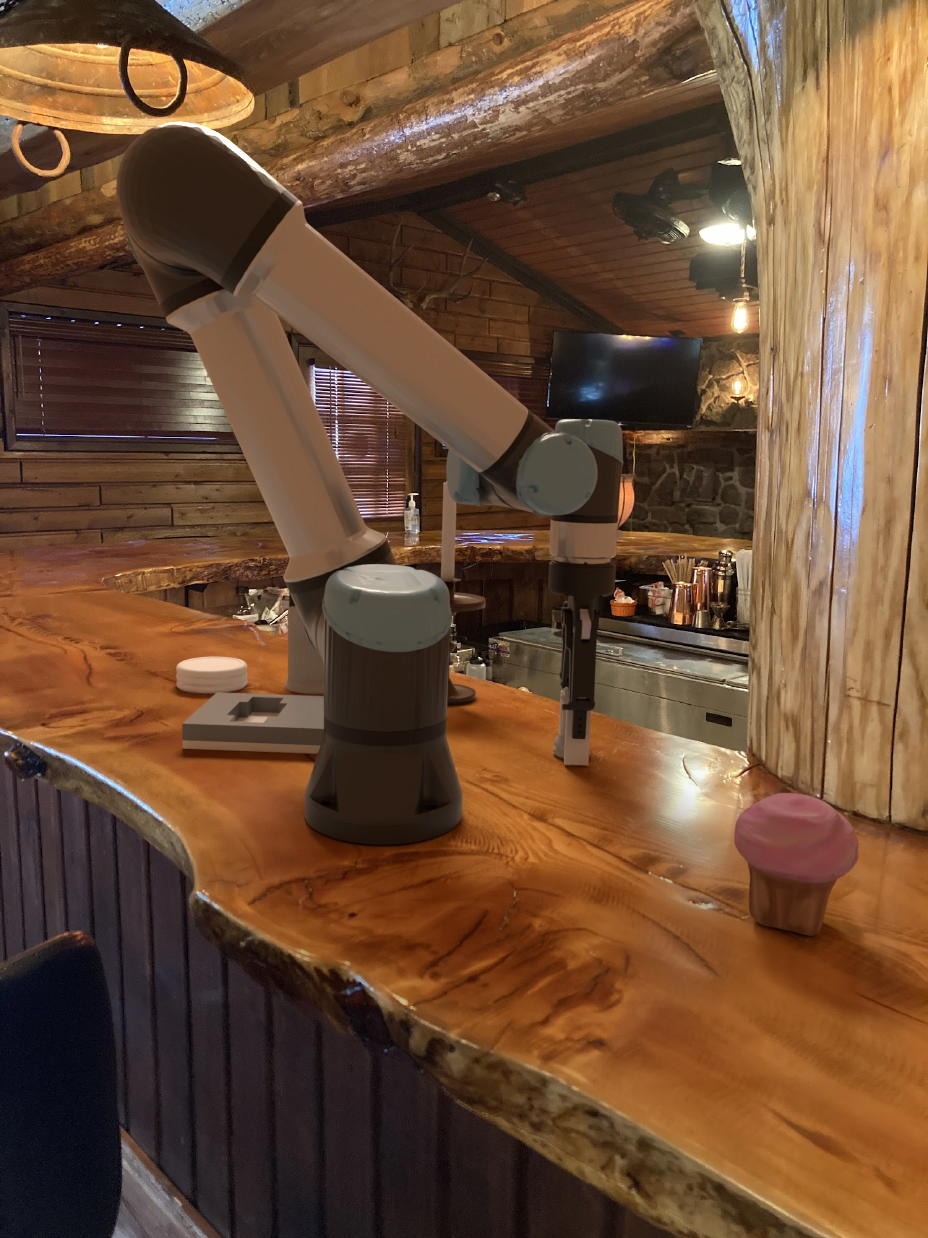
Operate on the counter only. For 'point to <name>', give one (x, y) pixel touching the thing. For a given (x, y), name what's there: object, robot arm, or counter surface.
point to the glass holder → (302, 658)
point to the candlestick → (457, 600)
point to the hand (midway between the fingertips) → (572, 752)
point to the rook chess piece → (562, 729)
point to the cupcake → (794, 859)
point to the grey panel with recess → (257, 723)
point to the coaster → (211, 675)
